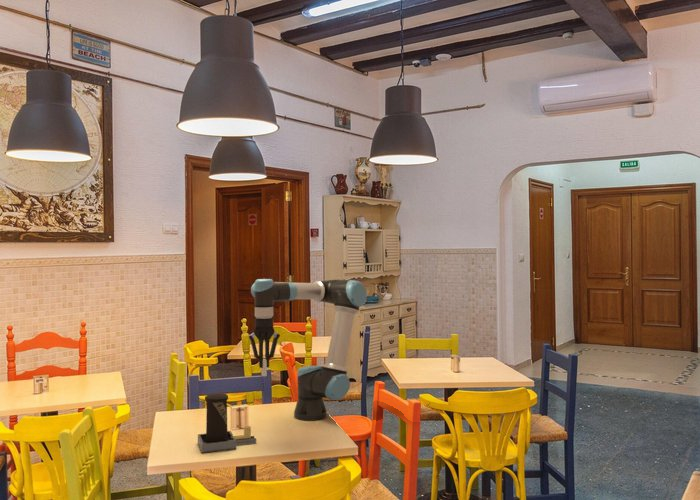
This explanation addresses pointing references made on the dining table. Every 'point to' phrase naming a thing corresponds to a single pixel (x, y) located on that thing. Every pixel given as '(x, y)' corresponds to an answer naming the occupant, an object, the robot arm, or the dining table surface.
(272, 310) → the robot arm
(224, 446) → the dock cradle
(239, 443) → the pin rail
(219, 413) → the container
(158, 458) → the dining table surface
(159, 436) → the dining table surface
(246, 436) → the tan block
